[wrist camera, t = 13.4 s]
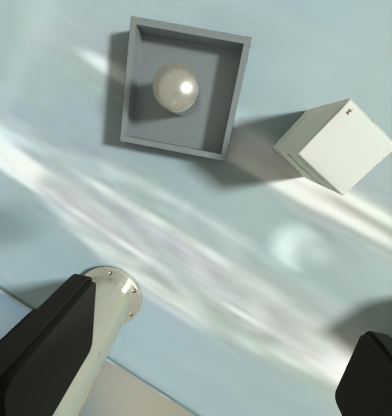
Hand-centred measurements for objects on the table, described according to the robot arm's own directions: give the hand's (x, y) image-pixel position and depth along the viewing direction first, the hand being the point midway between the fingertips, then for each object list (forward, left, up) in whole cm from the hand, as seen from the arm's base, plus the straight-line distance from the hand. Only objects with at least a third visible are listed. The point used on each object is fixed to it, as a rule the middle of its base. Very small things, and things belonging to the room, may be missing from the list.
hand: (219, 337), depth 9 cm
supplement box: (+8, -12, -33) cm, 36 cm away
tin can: (+11, +7, -32) cm, 35 cm away
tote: (+11, +7, -33) cm, 36 cm away
